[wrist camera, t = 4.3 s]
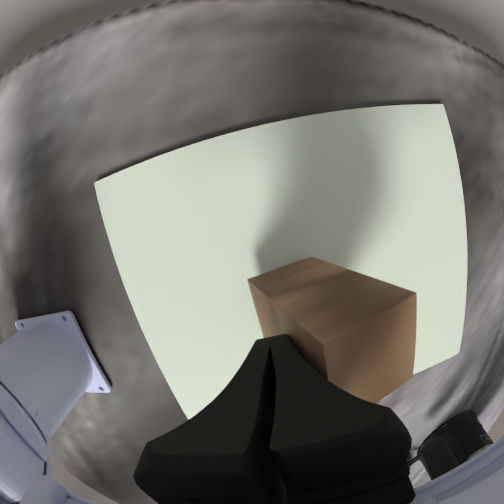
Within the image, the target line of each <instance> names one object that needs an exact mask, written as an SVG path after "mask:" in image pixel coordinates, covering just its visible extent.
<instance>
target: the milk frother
mask: <svg viewBox="0 0 504 504" xmlns="http://www.w3.org/2000/svg"><path fill="white" fill-rule="evenodd" d="M476 417H477V416H476V414H475V413H474V412H472V411H470V412H465V413H463V414H461V415H459V416H457V417H455V418H453V419H452V420H450V421H449V422H447V423H446V424H445V425H443V426H442V427H440V428H439V429H438V430H437V431H436V432H435V433H433V434H432V435H431V436H430V437H429V438H428V439H427V440H426V441H425V442H424V443H423V445H422V446H421V447H420V449H419V450H418V453H417V456H416V457H415V458H413V459H412V460H410V461H409V462H408V463H407V466H408V468H409V470H410V466H411V465H412V464H413V463H415V462H416V461H417V460H420V461H421V462H422V463H423V465H424V467H425V469H426V471H427V472H428V474H429V476H430V478H431V480H434V479H436V478H438V477H440V476H442V475H444V474H445V473H447V472H449V471H451V470H453V469H454V468H456V467H458V466H460V465H461V464H463V463H465V462H466V461H468V460H469V459H471V458H473V457H474V456H476V455H477V454H479V453H480V452H482V451H483V450H485V449H486V448H487V447H489V446H490V445H492V444H493V442H492V440H491V438H490V437H489V436H488V434H487V433H486V431H485V430H484V429H483V427H482V425H481V423H480V422H479V420H478V419H477V418H476Z"/></svg>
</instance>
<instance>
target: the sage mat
mask: <svg viewBox="0 0 504 504" xmlns="http://www.w3.org/2000/svg"><path fill="white" fill-rule="evenodd" d="M94 185H95V189H96V194H97V198H98V202H99V206H100V210H101V214H102V217H103V221H104V225H105V228H106V232H107V235H108V238H109V242H110V245H111V248H112V251H113V255H114V258H115V261H116V264H117V267H118V269H119V272H120V275H121V278H122V281H123V284H124V286H125V289H126V292H127V294H128V297H129V299H130V302H131V304H132V307H133V309H134V312H135V314H136V317H137V319H138V321H139V324H140V326H141V328H142V331H143V333H144V335H145V337H146V340H147V342H148V344H149V346H150V348H151V350H152V353H153V355H154V357H155V359H156V361H157V363H158V365H159V367H160V369H161V371H162V373H163V375H164V377H165V379H166V381H167V382H168V384H169V386H170V388H171V390H172V392H173V394H174V395H175V397H176V399H177V401H178V402H179V404H180V406H181V408H182V409H183V411H184V413H185V414H186V416H187V418H188V419H191V418H192V417H193V416H195V415H196V414H197V413H199V412H200V411H201V410H202V409H203V408H205V407H206V406H207V405H208V404H209V403H210V402H212V401H213V400H214V399H215V398H216V397H217V396H218V395H219V394H220V393H221V392H222V391H223V389H224V388H225V387H226V386H227V385H228V383H229V382H230V381H231V379H232V378H233V377H234V375H235V374H236V373H237V371H238V370H239V368H240V366H241V365H242V363H243V362H244V360H245V359H246V357H247V355H248V353H249V352H250V350H251V348H252V346H253V344H254V342H255V341H256V340H257V339H262V338H264V337H263V334H262V330H261V327H260V323H259V320H258V316H257V313H256V309H255V306H254V302H253V298H252V295H251V291H250V288H249V284H248V281H247V279H249V278H252V277H255V276H258V275H261V274H264V273H267V272H269V271H272V270H275V269H278V268H281V267H284V266H287V265H289V264H292V263H295V262H298V261H301V260H304V259H306V258H309V257H314V258H317V259H320V260H323V261H326V262H329V263H332V264H335V265H338V266H341V267H343V268H346V269H349V270H352V271H355V272H358V273H361V274H364V275H367V276H370V277H373V278H376V279H379V280H382V281H384V282H387V283H390V284H393V285H396V286H399V287H402V288H405V289H407V290H410V291H413V292H416V293H417V323H416V346H415V360H414V370H413V374H415V373H418V372H420V371H422V370H424V369H427V368H429V367H431V366H433V365H436V364H438V363H440V362H442V361H444V360H446V359H448V358H450V357H452V356H454V355H456V354H458V353H459V351H460V345H461V339H462V332H463V324H464V315H465V304H466V290H467V232H466V218H465V207H464V198H463V190H462V183H461V177H460V171H459V165H458V160H457V155H456V151H455V146H454V142H453V138H452V134H451V130H450V126H449V122H448V119H447V115H446V112H445V109H444V105H443V104H413V105H392V106H379V107H367V108H358V109H349V110H341V111H334V112H327V113H321V114H314V115H309V116H303V117H297V118H292V119H287V120H282V121H278V122H273V123H268V124H264V125H260V126H255V127H251V128H247V129H243V130H240V131H236V132H232V133H228V134H225V135H221V136H218V137H214V138H211V139H207V140H204V141H201V142H198V143H195V144H191V145H188V146H185V147H182V148H179V149H176V150H174V151H171V152H168V153H165V154H162V155H160V156H157V157H154V158H152V159H149V160H146V161H144V162H141V163H139V164H136V165H134V166H131V167H129V168H126V169H124V170H122V171H119V172H117V173H115V174H112V175H110V176H108V177H106V178H103V179H101V180H99V181H97V182H95V183H94Z"/></svg>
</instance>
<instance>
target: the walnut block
mask: <svg viewBox="0 0 504 504" xmlns="http://www.w3.org/2000/svg"><path fill="white" fill-rule="evenodd" d="M247 281H248V284H249V288H250V291H251V295H252V298H253V302H254V306H255V309H256V313H257V316H258V320H259V323H260V327H261V330H262V334H263V337H264V338H267V337H271V336H276V335H281V334H285V333H286V334H288V335H289V337H290V340H291V342H292V343H293V345H294V346H295V348H296V349H297V351H298V352H299V353H300V354H301V355H302V357H303V358H304V359H305V360H306V361H307V362H308V363H309V364H310V365H311V366H312V367H313V368H314V369H315V370H316V371H317V372H318V373H320V374H321V375H322V376H323V377H325V378H326V379H327V380H329V381H330V382H331V383H333V384H334V385H336V386H337V387H339V388H341V389H343V390H345V391H347V392H348V393H350V394H352V395H354V396H356V397H358V398H361V399H363V400H365V401H368V402H371V403H376V402H378V401H379V400H381V399H382V398H384V397H385V396H387V395H388V394H390V393H391V392H392V391H394V390H395V389H397V388H398V387H400V386H401V385H402V384H404V383H405V382H406V381H408V380H409V379H410V378H412V377H413V370H414V360H415V346H416V323H417V293H416V292H413V291H410V290H407V289H405V288H402V287H399V286H396V285H393V284H390V283H387V282H384V281H382V280H379V279H376V278H373V277H370V276H367V275H364V274H361V273H358V272H355V271H352V270H349V269H346V268H343V267H341V266H338V265H335V264H332V263H329V262H326V261H323V260H320V259H317V258H314V257H309V258H306V259H304V260H301V261H298V262H295V263H292V264H289V265H287V266H284V267H281V268H278V269H275V270H272V271H269V272H267V273H264V274H261V275H258V276H255V277H252V278H249V279H247Z"/></svg>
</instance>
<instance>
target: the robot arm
mask: <svg viewBox="0 0 504 504" xmlns="http://www.w3.org/2000/svg"><path fill="white" fill-rule="evenodd" d="M65 317H66V318H65ZM15 325H16V328H17V330H18V332H17V333H16V334H14V335H13V336H12V337H10V338H9V339H8V340H6V341H5V342H4V343H2V344H1V345H0V504H99V503H96V502H93V501H90V500H88V499H85V498H82V497H79V496H77V495H75V494H72V493H70V492H69V491H68V490H67V489H66V488H65V487H63V486H62V485H61V484H60V483H58V482H57V481H55V480H54V479H52V467H51V464H50V462H49V460H48V458H49V456H50V454H51V453H52V450H51V449H50V448H49V447H48V446H47V443H48V441H49V440H50V439H51V437H52V436H53V434H54V433H55V432H56V430H57V429H58V427H59V426H60V425H61V423H62V422H63V421H64V419H65V418H66V416H67V415H68V414H69V412H70V411H71V410H72V408H73V407H74V406H75V404H76V403H77V402H78V400H79V399H80V398H81V396H82V395H83V394H84V392H99V393H110V391H111V390H112V387H111V386H110V384H109V382H108V381H107V379H106V377H105V375H104V374H103V372H102V370H101V368H100V367H99V365H98V363H97V361H96V359H95V357H94V356H93V354H92V352H91V350H90V348H89V346H88V344H87V342H86V340H85V338H84V336H83V334H82V332H81V329H80V327H79V325H78V323H77V321H76V318H75V316H74V314H73V313H72V312H71V311H63V312H58V313H53V314H48V315H42V316H37V317H32V318H26V319H21V320H17V321H16V322H15ZM411 442H412V438H411V436H410V434H409V432H408V430H407V428H406V427H405V425H404V424H403V423H402V421H401V420H400V419H399V417H398V416H397V415H396V414H395V413H394V412H393V411H392V410H391V408H389V407H385V406H382V405H378V404H375V403H371V402H368V401H365V400H363V399H361V398H358V397H356V396H354V395H352V394H350V393H348V392H347V391H345V390H343V389H341V388H339V387H337V386H336V385H334V384H333V383H331V382H330V381H329V380H327V379H326V378H325V377H323V376H322V375H321V374H320V373H318V372H317V371H316V370H315V369H314V368H313V367H312V366H311V365H310V364H309V363H308V362H307V361H306V360H305V359H304V358H303V357H302V355H301V354H300V353H299V352H298V351H297V349H296V348H295V346H294V345H293V343H292V342H291V340H290V337H289V335H288V334H286V333H285V334H281V335H276V336H271V337H267V338H262V339H257V340H256V341H255V342H254V344H253V346H252V348H251V350H250V352H249V353H248V355H247V357H246V359H245V360H244V362H243V363H242V365H241V366H240V368H239V370H238V371H237V373H236V374H235V375H234V377H233V378H232V379H231V381H230V382H229V383H228V385H227V386H226V387H225V388H224V389H223V391H222V392H221V393H220V394H219V395H218V396H217V397H216V398H215V399H214V400H213V401H212V402H210V403H209V404H208V405H207V406H206V407H205V408H203V409H202V410H201V411H200V412H199V413H197V414H196V415H195V416H193V417H192V418H191V419H189V420H188V421H186V422H185V423H183V424H182V425H180V426H178V427H177V428H175V429H173V430H172V431H170V432H168V433H166V434H164V435H162V436H160V437H158V438H156V439H154V440H152V441H149V442H147V444H146V446H145V448H144V450H143V452H142V454H141V457H140V459H139V462H138V465H137V467H136V470H135V472H134V476H133V478H134V480H135V482H136V484H137V485H138V486H139V487H140V488H141V489H142V490H143V491H144V492H145V493H146V494H147V495H149V496H150V497H151V498H152V499H153V500H155V501H156V502H157V503H158V504H504V436H502V437H501V438H500V439H499V440H497V441H496V442H494V443H493V444H492V445H490V446H489V447H487V448H486V449H485V450H483V451H482V452H480V453H479V454H477V455H476V456H474V457H473V458H471V459H469V460H468V461H466V462H465V463H463V464H461V465H460V466H458V467H456V468H454V469H453V470H451V471H449V472H447V473H445V474H444V475H442V476H440V477H438V478H436V479H434V480H432V481H430V482H428V483H426V484H423V485H421V486H419V487H417V488H415V489H413V486H412V484H411V481H410V479H409V476H408V475H409V474H410V471H409V468H408V466H407V463H406V460H407V457H408V454H409V451H410V448H411Z"/></svg>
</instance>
